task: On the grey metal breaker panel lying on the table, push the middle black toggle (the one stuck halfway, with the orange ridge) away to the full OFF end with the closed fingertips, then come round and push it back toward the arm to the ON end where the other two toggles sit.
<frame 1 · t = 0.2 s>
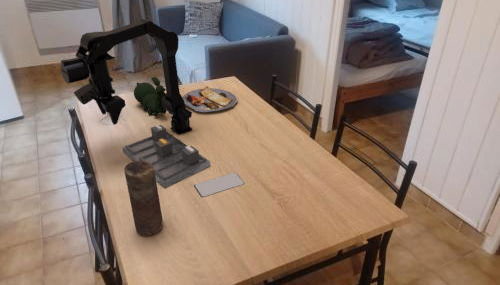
hand: (109, 119, 123), 14 cm above the table, tool pointing down, fingers open, 9 cm apart
food plate: (209, 103, 169), on the table
breaker mid: (164, 147, 126), point 5 cm above the table, slide at 0.0 cm
panel: (165, 158, 129), on the table
candle: (149, 227, 101), on the table
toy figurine: (152, 110, 161), on the table
champagne flute: (109, 120, 153), on the table
breaker 1: (159, 132, 135), point 5 cm above the table, slide at -4.0 cm
smartphone: (219, 185, 117), on the table
breaker 2: (190, 155, 123), point 5 cm above the table, slide at -4.0 cm
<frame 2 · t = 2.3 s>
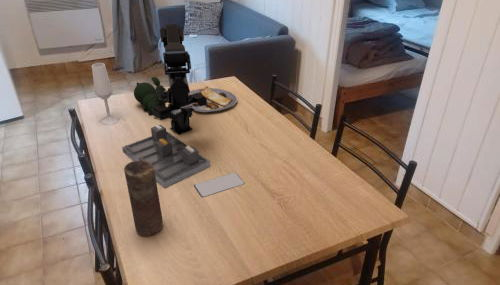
hand: (182, 127, 129), 10 cm above the table, tool pointing down, fingers closed
nothing on the table moved.
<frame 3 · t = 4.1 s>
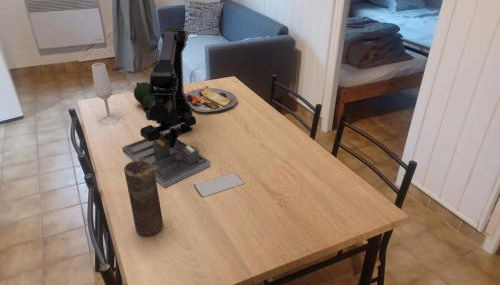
hand: (171, 147, 129), 4 cm above the table, tool pointing down, fingers closed
breaker mid: (161, 148, 126), point 5 cm above the table, slide at 1.1 cm, touching gripper
everything else where it was.
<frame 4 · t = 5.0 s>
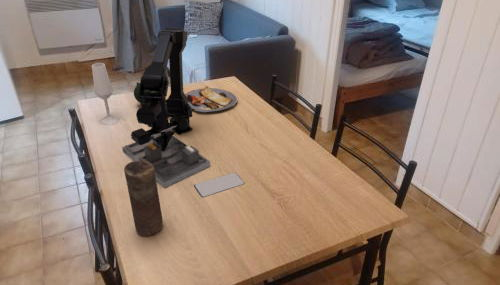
hand: (163, 150, 127), 4 cm above the table, tool pointing down, fingers closed
breaker mid: (152, 151, 124), point 5 cm above the table, slide at 4.3 cm, touching gripper
everything else where it was.
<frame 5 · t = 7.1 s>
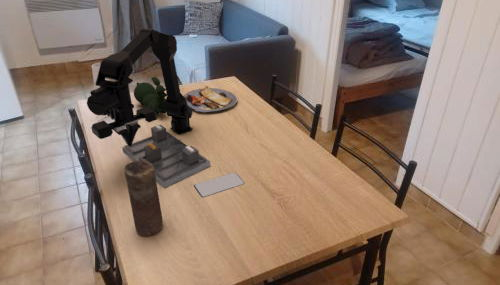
hand: (129, 145, 117), 10 cm above the table, tool pointing down, fingers closed
breaker mid: (152, 151, 124), point 5 cm above the table, slide at 4.4 cm
everything else where it was.
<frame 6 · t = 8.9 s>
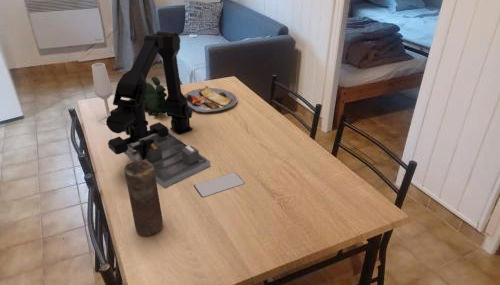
hand: (143, 159, 122), 3 cm above the table, tool pointing down, fingers closed
breaker mid: (153, 151, 124), point 5 cm above the table, slide at 4.2 cm, touching gripper
everything else where it was.
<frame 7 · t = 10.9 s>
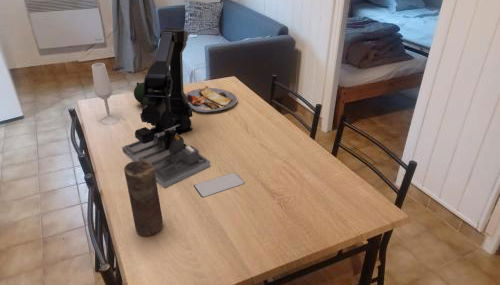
hand: (166, 149, 128), 3 cm above the table, tool pointing down, fingers closed
breaker mid: (175, 142, 129), point 5 cm above the table, slide at -4.8 cm, touching gripper
everything else where it was.
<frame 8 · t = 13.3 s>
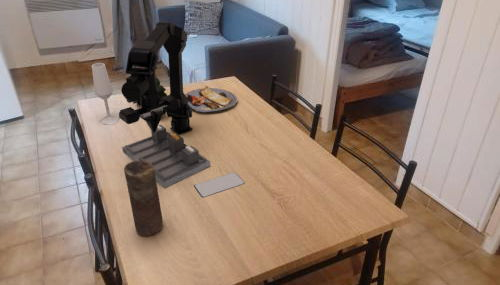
hand: (153, 132, 121), 12 cm above the table, tool pointing down, fingers closed
breaker mid: (176, 142, 129), point 5 cm above the table, slide at -4.9 cm
everything else where it was.
at the end: breaker mid slide at -4.9 cm; breaker 2 slide at -4.0 cm; breaker 1 slide at -4.0 cm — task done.
